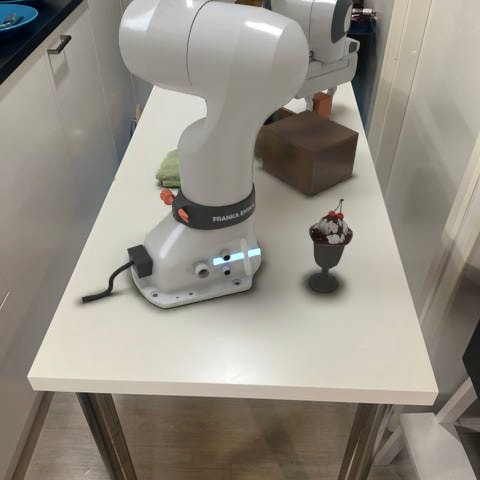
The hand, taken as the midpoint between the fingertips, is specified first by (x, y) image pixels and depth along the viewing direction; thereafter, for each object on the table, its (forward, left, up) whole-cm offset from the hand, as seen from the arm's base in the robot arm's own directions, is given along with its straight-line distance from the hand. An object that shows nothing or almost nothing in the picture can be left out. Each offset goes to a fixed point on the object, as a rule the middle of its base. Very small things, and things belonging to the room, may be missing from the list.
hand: (318, 107), depth 124 cm
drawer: (-20, -9, -2) cm, 22 cm away
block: (0, 0, -2) cm, 2 cm away
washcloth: (-38, -10, -3) cm, 39 cm away
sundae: (-36, -52, -3) cm, 63 cm away
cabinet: (-18, -21, -3) cm, 27 cm away
